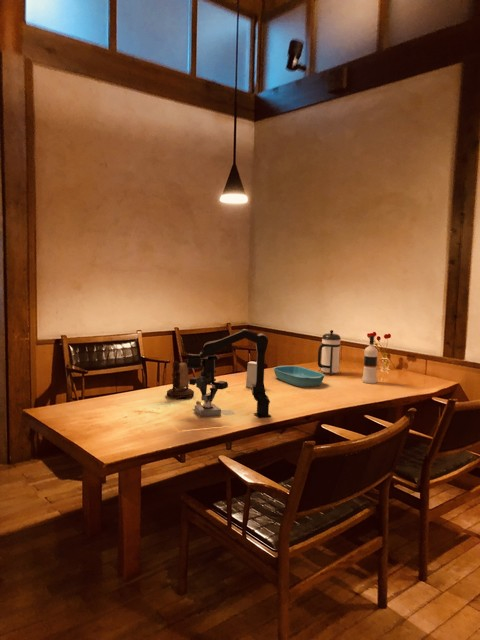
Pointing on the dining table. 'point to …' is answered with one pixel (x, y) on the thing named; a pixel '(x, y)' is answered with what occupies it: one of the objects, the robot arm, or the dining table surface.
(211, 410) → the block
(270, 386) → the dining table surface
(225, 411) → the mat
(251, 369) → the skincare box
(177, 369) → the brown pedestal sculpture
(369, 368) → the vodka
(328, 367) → the coffee press
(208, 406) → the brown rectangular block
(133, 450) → the dining table surface
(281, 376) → the casserole dish
